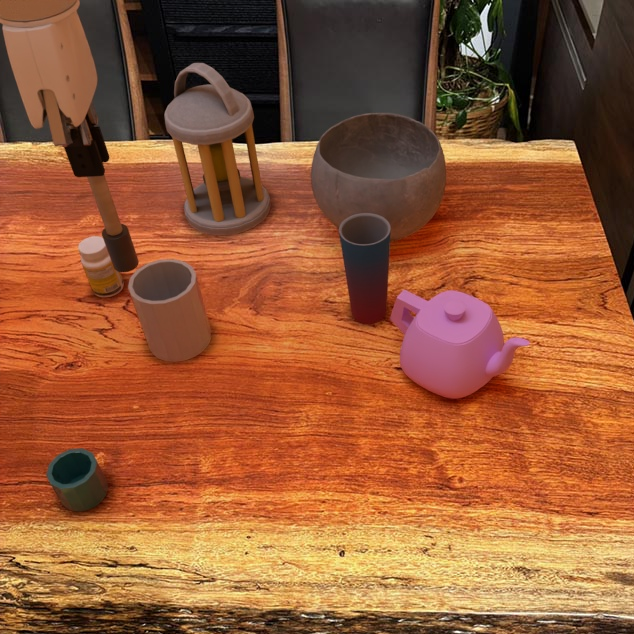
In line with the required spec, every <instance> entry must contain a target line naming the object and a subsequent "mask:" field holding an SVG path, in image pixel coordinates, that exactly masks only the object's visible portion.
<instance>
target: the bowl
mask: <svg viewBox="0 0 634 634" xmlns="http://www.w3.org/2000/svg"><path fill="white" fill-rule="evenodd" d="M310 182H311V183H310V184H311V189H312V194H313V196H314V199H315V202H316V203H317V206H318V208H319V209H320V211H321V212H322V214H323V216H324V217H325V218H326V219H327V220H328V221H329V222H330V223H331V224H332V225H334V227H335V228H336V229H338V230H339V227H340V225H341V223H342V222H343V221H344V220H345V219H346V218H348V217H350V216H352V215H355V214H360V213H372V214H377V215H380V216H382V217H384V218H385V219H386V220H387V221H388V222H389V224H390V226H391V235H390V243H391V242H397V241H399V240H403V239H405V238H407V237H409V236H411V235H414V233H417V232H418V231H420V230H421V229H422V228H424V227H425V226H426V225H427V224H428V223H429V222H430V221H431V220H432V218H433V217H434V216H435V214H436V213H437V212H438V210H439V207H440V206H441V203H442V200H443V198H444V195H445V190H446V185H447V166H446V157H445V153H444V150H443V147H442V143H441V141H440V139H439V138H438V136H437V135H436V134H435V132H434V131H433V130H432V129H430V127H428V125H426V124H425V123H423V122H421V121H417V120H416V119H415V118H412V117H410V116H406V115H403V114H398V113H393V112H369V113H362V114H357V115H353V116H352V117H348V118H346V119H344V120H341V121H340V122H338V123H336V124H334V125H333V126H331V127H329V128H328V129H327V130H326V131H325V132H323V134H322V135H321V136H320V138H319V140H318V143H317V145H316V147H315V149H314V152H313V155H312V161H311V167H310Z"/></svg>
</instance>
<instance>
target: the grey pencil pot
mask: <svg viewBox="0 0 634 634" xmlns="http://www.w3.org/2000/svg"><path fill="white" fill-rule="evenodd" d="M127 289H128V292H129V295H130V298H131V301H132V303H133V307H134V309H135V312H136V315H137V318H138V321H139V323H140V326H141V329H142V332H143V335H144V338H145V340H146V344H147V346H148V348H149V351H150V353H151V354H152V355H153V356H154V357H155V358H157V359H159V360H162V361H165V362H171V363H177V362H184V361H187V360H188V361H189V360H191V359H193V358H195V357H197V356H199V355H200V354H202V352H204V351H205V350H206V349H207V347H209V345H210V342H211V339H212V329H211V325H210V322H209V321H210V320H209V318H208V314H207V310H206V306H205V303H204V302H205V301H204V298H203V295H202V291H201V287H200V283H199V279H198V276H197V273H196V271H195V269H194V267H193V266H192V265H190V264H189V263H187V262H186V261H184V260H180V259H175V258H164V259H157V260H154V261H150V262H148V263H146V264H144V265H142V266H140V267H139V268H138V269H136V270H135V271H134V272H133V274H132V275H131V276H130V277H129V281H128V284H127Z"/></svg>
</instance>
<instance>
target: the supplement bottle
mask: <svg viewBox="0 0 634 634" xmlns="http://www.w3.org/2000/svg"><path fill="white" fill-rule="evenodd" d="M77 248H78V253H79V255H80V264H81V266H82V268H83V271H84V273H85V276H86V278H87V280H88V283H89V285H90V288H91V291H92V293H93V294H94V295H95V296H96V297H99V298H111V297H114V296H116V295H118V294H119V293H120V292H121V291H123V289H124V286H125V281H124V278H123V276H122V272H118V271H116V270H115V269H114V267H113V264H112V262H111V259H110V256H109V253H108V251H107V248H106V245H105V242H104V239H103V237H102V236H99V235H92V236H88V237H86V238H84V239H82V240H81V241H80V242H79V244H78V246H77Z"/></svg>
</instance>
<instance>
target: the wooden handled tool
mask: <svg viewBox="0 0 634 634" xmlns="http://www.w3.org/2000/svg"><path fill="white" fill-rule="evenodd" d="M84 119H85V118H84ZM85 122H86V125H87V128H88V131H89V134H90V137H91V140H93V139H92V136H91V133H90V130H89V127H88V124H87V121H86V119H85ZM68 128H70V129H77V130H78V127H75V126H74V125H72V126H68ZM78 131H79V130H78ZM86 178H87V182H88V183H89V187H90V189H91V192H92V195H93V197H94V201H95V204H96V206H97V209H98V212H99V215H100V218H101V220H102V223H103V227H104V228H103V229H102V230H101V237H102V238H103V239H104V242H105V245H106V248H107V251H108V253H109V256H110V259H111V262H112V264H113V267H114V269H115V270H116V271H118V272H120V273H129V272H132V271H134V270H135V269H136V268H138V266H139V261H140V260H139V257H138V255H137V252H136V248H135V246H134V243H133V239H132V236H131V233H130V231H129V227H128V226H127V225H126V224H124V223H122V222H121V220H120V217H119V214H118V211H117V209H116V205H115V202H114V199H113V196H112V193H111V189H110V187H109V185H108V182H107V181H108V180H107V179H106V175H105V174H104V175H103V176H93V177H86Z"/></svg>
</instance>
